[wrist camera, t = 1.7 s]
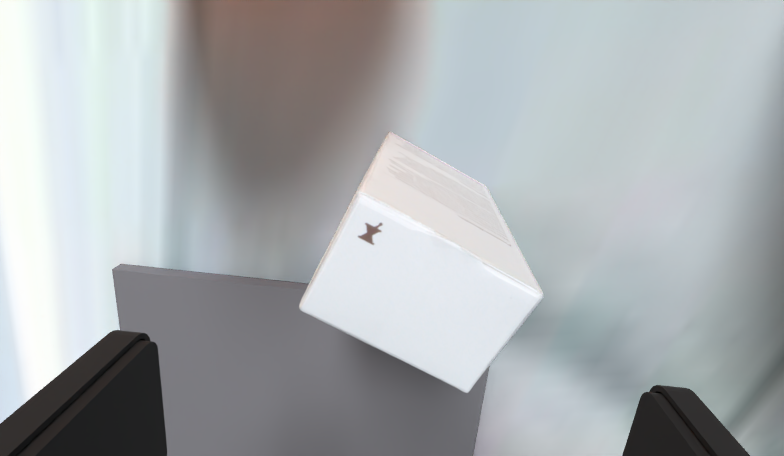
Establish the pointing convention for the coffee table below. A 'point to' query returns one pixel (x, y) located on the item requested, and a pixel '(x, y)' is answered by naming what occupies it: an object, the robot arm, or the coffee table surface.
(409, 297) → the skincare box
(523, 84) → the coffee table surface
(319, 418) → the mat
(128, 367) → the robot arm
